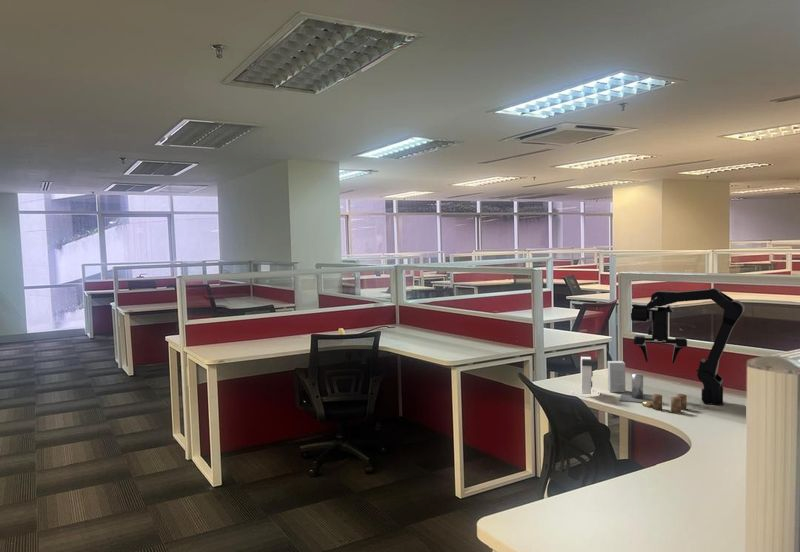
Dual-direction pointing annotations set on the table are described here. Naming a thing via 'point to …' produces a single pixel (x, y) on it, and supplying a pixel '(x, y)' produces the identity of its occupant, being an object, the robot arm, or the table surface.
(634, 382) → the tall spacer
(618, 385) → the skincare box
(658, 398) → the spacer
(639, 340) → the robot arm
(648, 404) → the nut
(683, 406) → the spacer
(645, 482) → the table surface
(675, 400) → the spacer
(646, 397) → the mat
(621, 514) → the table surface
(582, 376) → the narrow upright pillar
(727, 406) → the table surface
